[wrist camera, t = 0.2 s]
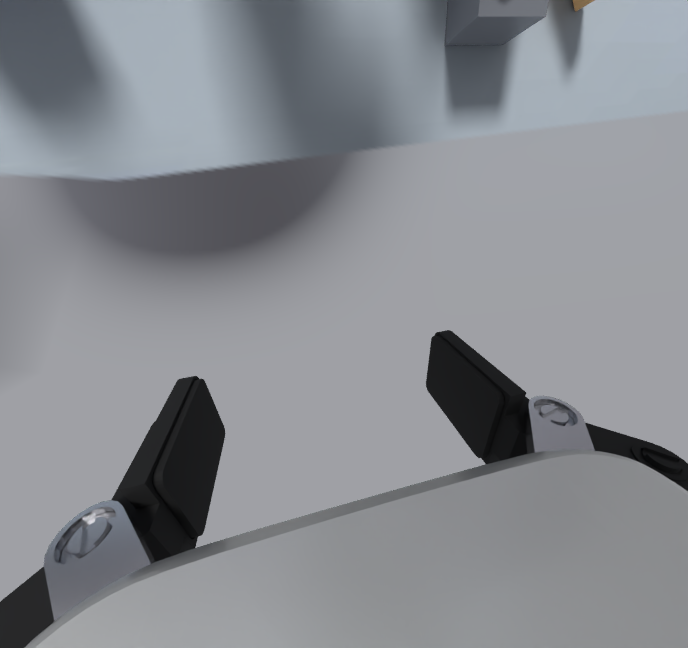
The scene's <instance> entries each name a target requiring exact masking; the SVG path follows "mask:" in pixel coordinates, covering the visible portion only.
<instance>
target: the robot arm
mask: <svg viewBox="0 0 688 648" xmlns="http://www.w3.org/2000/svg"><path fill="white" fill-rule="evenodd" d="M426 387H427V390H428V391H429V393H430V394H431V396H432V397H433V398H434V400H435V401H436V402H437V404H438V405H439V406H440V408H441V409H442V411H443V412H444V413H445V414H446V416H447V417H448V419H449V420H450V421H451V423H452V424H453V425H454V427H455V428H456V429H457V431H458V432H459V433H460V435H461V436H462V438H463V439H464V440H465V442H466V443H467V444H468V446H469V447H470V448H471V450H472V451H473V452H474V454H475V455H476V456H477V457H478V458H482V460H483V461H484V462H485V463H486V465H482V466H479V467H476V468H472V469H468V470H464V471H461V472H457V473H453V474H450V475H447V476H443V477H439V478H435V479H432V480H428V481H425V482H421V483H418V484H414V485H410V486H407V487H403V488H400V489H397V490H393V491H389V492H386V493H382V494H378V495H375V496H372V497H368V498H365V499H361V500H357V501H354V502H350V503H347V504H343V505H340V506H337V507H333V508H329V509H326V510H322V511H319V512H316V513H312V514H309V515H305V516H302V517H299V518H295V519H291V520H288V521H284V522H281V523H277V524H275V525H270V526H267V527H264V528H260V529H257V530H253V531H250V532H246V533H243V534H240V535H236V536H233V537H230V538H227V539H224V540H220V541H217V542H214V543H211V544H207V545H204V546H201V547H198V548H195V546H196V542H197V538H198V536H201V535H202V534H203V532H204V529H205V525H206V520H207V515H208V511H209V506H210V502H211V497H212V492H213V488H214V483H215V479H216V475H217V470H218V465H219V461H220V456H221V452H222V447H223V443H224V438H225V428H224V425H223V423H222V421H221V418H220V416H219V414H218V411H217V409H216V407H215V404H214V402H213V399H212V397H211V395H210V393H209V390H208V388H207V385H206V383H205V381H204V380H203V379H199V378H198V377H197V376H193V377H188V378H182V379H179V380H178V381H177V382H176V385H175V386H174V388H173V390H172V392H171V394H170V395H169V398H168V399H167V401H166V403H165V405H164V407H163V409H162V411H161V412H160V414H159V416H158V418H157V420H156V421H155V422H154V423H153V425H152V426H151V428H150V430H149V432H148V434H147V435H146V437H145V439H144V441H143V443H142V445H141V446H140V448H139V450H138V452H137V454H136V456H135V458H134V460H133V461H132V463H131V465H130V467H129V469H128V471H127V472H126V474H125V476H124V478H123V480H122V482H121V483H120V485H119V487H118V489H117V491H116V493H115V495H114V496H113V498H112V500H109V501H104V502H100V503H98V504H95V505H93V506H91V507H89V508H88V509H86V510H84V511H83V512H81V513H79V514H78V515H77V516H76V517H74V518H73V519H72V520H71V521H69V522H68V523H67V524H66V525H65V527H63V528H62V529H61V531H60V532H59V533H58V534H57V535H56V537H55V538H54V539H53V541H52V542H51V544H50V545H49V547H48V550H47V552H46V554H45V558H44V567H43V568H41V569H40V570H39V571H38V572H36V573H35V574H34V575H33V576H31V577H30V578H29V579H28V580H27V581H25V582H24V583H23V584H22V585H20V586H19V587H18V588H17V589H15V590H14V591H13V592H12V593H10V594H9V595H8V596H7V597H6V598H4V599H3V600H2V601H1V602H0V648H688V464H687V463H686V462H685V461H684V460H683V459H681V458H679V457H678V456H677V455H675V454H674V453H672V452H670V451H668V450H667V449H665V448H662V447H661V446H658V445H655V444H653V443H650V442H647V441H643V440H640V439H637V438H633V437H630V436H627V435H624V434H620V433H617V432H614V431H610V430H607V429H604V428H601V427H597V426H594V425H591V424H588V423H585V422H584V419H583V417H582V415H581V414H580V413H579V412H578V411H577V410H576V409H575V408H574V407H572V406H571V405H569V404H568V403H565V402H563V401H561V400H559V399H556V398H553V397H548V396H536V397H533V398H531V399H530V400H529V399H528V398H527V397H525V395H526V392H525V391H524V390H522V389H521V388H520V387H519V386H518V385H516V384H515V383H514V382H513V381H511V380H510V379H509V378H508V377H507V376H505V375H504V374H503V373H502V372H501V371H499V370H498V369H497V368H496V367H494V366H493V365H492V364H491V363H490V362H488V361H487V360H486V359H485V358H483V357H482V356H481V355H480V354H479V353H477V352H476V351H475V350H474V349H472V348H471V347H470V346H469V345H468V344H466V343H465V342H464V341H463V340H462V339H460V338H459V337H458V336H457V335H455V334H454V333H453V332H452V331H449V330H447V331H442V332H437V333H436V334H435V336H433V337H432V339H431V347H430V356H429V364H428V372H427V381H426Z"/></svg>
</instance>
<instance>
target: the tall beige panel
mask: <svg viewBox="0 0 688 648" xmlns="http://www.w3.org/2000/svg"><path fill="white" fill-rule="evenodd" d="M592 1H594V0H573V5H574V9H575V12H576V11H577V10H579V9H581V8H582V7H584V6H586V5H587V4H589V3H591V2H592Z"/></svg>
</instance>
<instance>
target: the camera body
mask: <svg viewBox="0 0 688 648" xmlns="http://www.w3.org/2000/svg"><path fill="white" fill-rule="evenodd" d="M548 3H549V0H448V7H447V20H446V34H445V46H456V45H503V44H504V43H506V42H507V41H509V40H510V39H512V38H514V37H515V36H517V35H518V34H520V33H521V32H523V31H524V30H526V29H527V28H529V27H530V26H532V25H533V24H535V23H537V22H538V21H540V20H541V19H543V18H544V17H546V12H547V7H548Z"/></svg>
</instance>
